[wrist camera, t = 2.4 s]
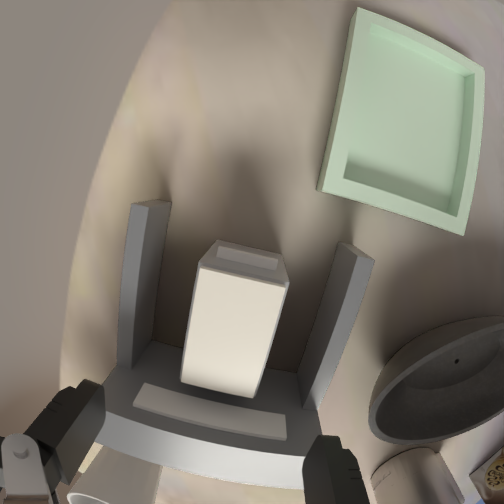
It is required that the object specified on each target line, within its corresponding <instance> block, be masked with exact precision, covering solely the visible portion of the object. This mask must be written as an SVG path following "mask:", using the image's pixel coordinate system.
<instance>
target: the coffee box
mask: <svg viewBox="0 0 504 504" xmlns="http://www.w3.org/2000/svg"><path fill="white" fill-rule="evenodd" d="M469 477H470V479H471V481H472V482H473V484H474V486H475V488H476V489H477V491H478V493H479V494H480V496H481V498H482V499H483V501H484V503H485V504H504V446H503V447H502V448H501V449H500V450H499V451H498V452H497V453H496V454H495V455H493V456H492V457H491V458H490V459H489V460H488V461H487V462H485V463H484V464H483V465H482V466H481V467H480V468H478V469H477V470H476V471H475V472H473V473H472V474H471V475H470V476H469Z"/></svg>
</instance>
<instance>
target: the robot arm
mask: <svg viewBox="0 0 504 504" xmlns="http://www.w3.org/2000/svg"><path fill="white" fill-rule="evenodd" d="M105 418H106V407H105V392H104V387H103V386H102V385H100V384H97V383H95V382H92V381H90V380H87V379H84V380H83V381H82V382H81V383H80V384H79V385H78V386H77V388H76V389H75V388H73V387H71V386H69V387H67V388H65V389H63V390H61V391H59V392H58V393H57V394H56V396H55V397H54V398H53V399H52V401H51V402H50V403H49V404H48V405H47V406H46V409H44V410H43V411H42V412H41V413H40V414H39V416H38V417H37V418H36V419H35V420H34V422H33V423H32V424H31V426H30V427H29V428H28V429H27V430H26V431H25V433H23V434H12V435H10V436H8V437H6V438H5V437H1V436H0V491H1V490H2V488H6V494H7V497H6V499H4V500H3V504H60V500H59V497H58V494H57V490H56V487H57V485H58V483H59V482H60V481H61V482H63V483H65V484H67V485H70V483H71V481H72V479H73V478H74V476H75V474H76V472H77V470H78V469H79V467H80V465H81V463H82V462H83V460H84V458H85V456H86V455H87V453H88V451H89V449H90V448H91V446H92V444H93V443H94V441H95V439H96V437H97V436H98V434H99V432H100V431H101V429H102V427H103V425H104V422H105ZM359 470H360V468H359V465H358V462H357V459H356V457H355V456H354V455H353V454H352V452H351V451H350V450H349V449H343V448H342V444H341V441H340V438H339V437H338V436H329V435H318V436H317V437H316V439H315V441H314V442H313V444H312V446H311V448H310V450H309V451H308V453H307V455H306V457H305V459H304V461H303V465H302V477H303V485H304V494H305V502H306V504H370V502H369V499H368V495H367V492H366V488H365V485H364V482H363V480H362V475H361V472H360V471H359ZM371 484H372V488H373V491H374V494H375V498H376V501H377V504H463V503H464V500H465V499H464V497H463V495H462V493H461V491H460V489H459V487H458V485H457V483H456V481H455V480H454V478H453V476H452V474H451V472H450V470H449V469H448V467H447V465H446V463H445V461H444V459H443V458H442V456H441V454H440V453H434V451H433V450H432V449H430V448H416V449H412V450H409V451H406V452H403V453H401V454H399V455H397V456H395V457H393V458H391V459H390V460H388V461H387V462H385V463H384V464H383V465H382V466H380V467H379V468H378V469H377V470H376V472H375V473H374V474H373V476H372V479H371Z"/></svg>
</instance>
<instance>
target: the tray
mask: <svg viewBox="0 0 504 504" xmlns="http://www.w3.org/2000/svg"><path fill="white" fill-rule="evenodd" d="M484 84H485V75H484V68H483V67H481V66H480V65H478V64H477V63H475V62H473V61H472V60H470V59H469V58H467V57H465V56H464V55H462V54H460V53H459V52H457V51H455V50H453V49H452V48H450V47H448V46H446V45H444V44H442V43H441V42H439V41H437V40H435V39H433V38H431V37H429V36H427V35H425V34H423V33H421V32H419V31H417V30H414V29H412V28H410V27H408V26H406V25H403V24H401V23H399V22H396V21H394V20H392V19H389V18H387V17H384V16H382V15H379V14H376V13H374V12H371V11H368V10H365V9H362V8H359V7H357V9H356V11H355V13H354V15H353V17H352V18H351V20H350V26H349V32H348V38H347V44H346V49H345V55H344V60H343V66H342V71H341V76H340V82H339V87H338V92H337V97H336V102H335V107H334V112H333V116H332V121H331V126H330V130H329V135H328V140H327V144H326V149H325V153H324V158H323V162H322V166H321V171H320V175H319V179H318V183H317V188H316V190H317V191H321V192H325V193H328V194H332V195H335V196H339V197H343V198H346V199H350V200H353V201H356V202H360V203H363V204H367V205H370V206H373V207H376V208H380V209H383V210H386V211H389V212H392V213H396V214H399V215H402V216H405V217H408V218H411V219H414V220H417V221H420V222H423V223H426V224H429V225H431V226H434V227H437V228H440V229H443V230H446V231H448V232H452V233H455V234H458V235H461V236H464V233H465V229H466V225H467V221H468V216H469V212H470V207H471V203H472V198H473V193H474V187H475V182H476V176H477V169H478V163H479V155H480V147H481V138H482V127H483V113H484Z"/></svg>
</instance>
